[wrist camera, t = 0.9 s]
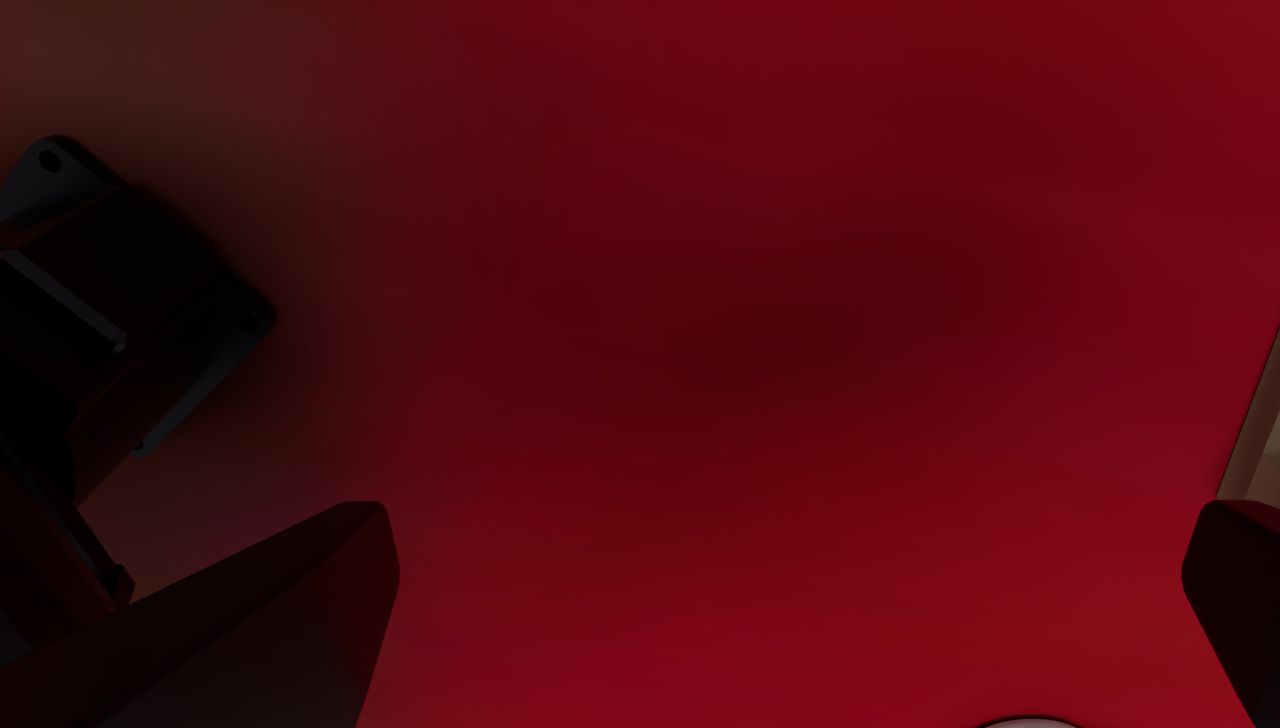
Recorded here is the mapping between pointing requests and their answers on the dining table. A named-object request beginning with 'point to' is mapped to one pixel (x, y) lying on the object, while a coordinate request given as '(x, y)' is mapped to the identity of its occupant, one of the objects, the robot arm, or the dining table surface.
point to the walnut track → (1258, 443)
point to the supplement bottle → (1031, 724)
